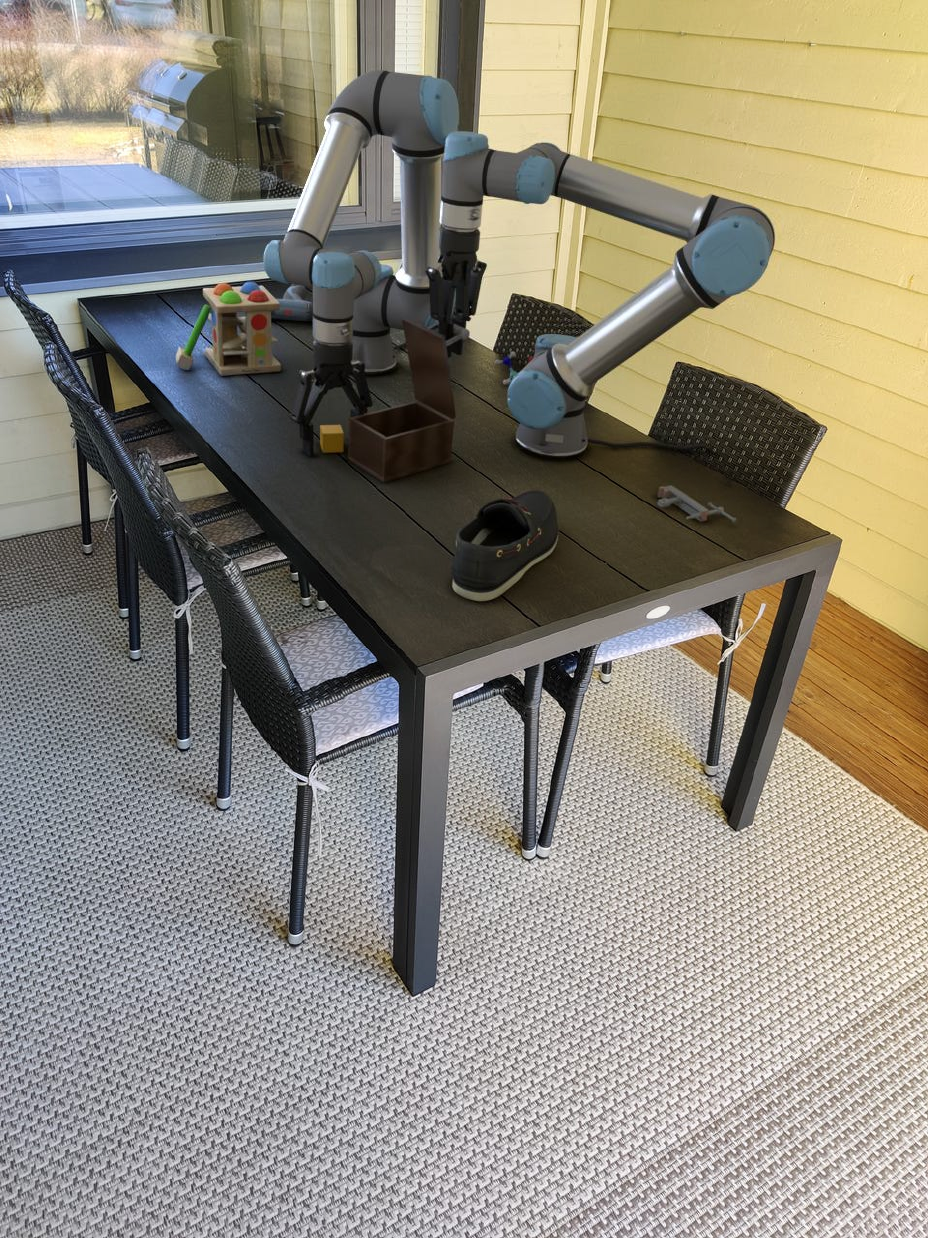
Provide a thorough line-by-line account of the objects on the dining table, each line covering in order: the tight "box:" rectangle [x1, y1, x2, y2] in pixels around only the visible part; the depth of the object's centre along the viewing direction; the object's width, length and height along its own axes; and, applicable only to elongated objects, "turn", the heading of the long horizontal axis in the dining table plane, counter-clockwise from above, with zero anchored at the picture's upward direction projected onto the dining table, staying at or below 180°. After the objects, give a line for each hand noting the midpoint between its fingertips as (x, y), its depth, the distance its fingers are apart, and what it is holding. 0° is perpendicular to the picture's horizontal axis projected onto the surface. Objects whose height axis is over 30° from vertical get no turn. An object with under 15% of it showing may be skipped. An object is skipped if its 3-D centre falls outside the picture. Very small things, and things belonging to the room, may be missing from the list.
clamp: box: [656, 485, 738, 523], centre depth 187 cm, size 15×2×10 cm
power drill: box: [271, 284, 313, 322], centre depth 265 cm, size 5×19×20 cm
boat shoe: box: [450, 489, 559, 602], centre depth 165 cm, size 13×33×10 cm, turn 147°
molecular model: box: [494, 351, 534, 386], centre depth 232 cm, size 12×10×10 cm
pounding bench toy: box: [174, 281, 282, 377], centre depth 225 cm, size 23×14×18 cm, turn 116°
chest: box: [347, 400, 455, 483], centre depth 193 cm, size 17×12×9 cm
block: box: [319, 424, 345, 454], centre depth 197 cm, size 4×4×4 cm
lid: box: [402, 318, 471, 420], centre depth 190 cm, size 18×12×8 cm
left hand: (332, 447), depth 198 cm, fingers open, 11 cm apart
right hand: (450, 353), depth 191 cm, fingers closed on lid, 2 cm apart
